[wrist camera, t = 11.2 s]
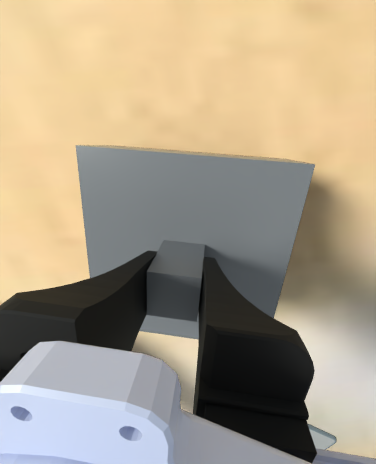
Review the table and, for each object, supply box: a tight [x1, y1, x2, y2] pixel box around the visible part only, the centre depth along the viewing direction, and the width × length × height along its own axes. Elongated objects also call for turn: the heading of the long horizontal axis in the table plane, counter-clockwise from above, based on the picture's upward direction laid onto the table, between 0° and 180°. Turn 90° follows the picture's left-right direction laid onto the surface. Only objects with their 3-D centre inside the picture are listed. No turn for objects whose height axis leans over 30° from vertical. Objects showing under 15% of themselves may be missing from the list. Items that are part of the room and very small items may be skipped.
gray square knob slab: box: [76, 145, 315, 339], centre depth 14 cm, size 12×12×8 cm
